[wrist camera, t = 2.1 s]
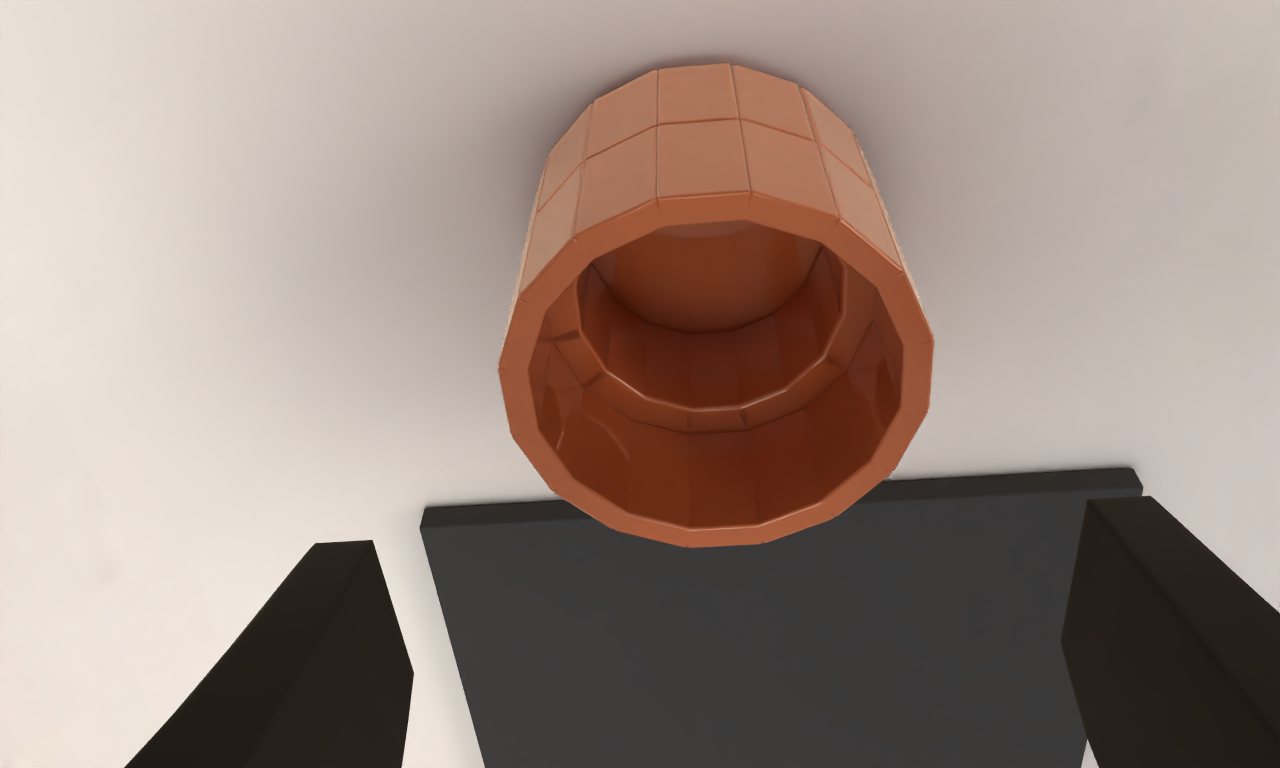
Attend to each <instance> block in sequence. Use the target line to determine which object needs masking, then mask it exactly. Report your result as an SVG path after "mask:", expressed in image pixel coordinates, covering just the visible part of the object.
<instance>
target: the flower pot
mask: <svg viewBox="0 0 1280 768" xmlns="http://www.w3.org/2000/svg"><path fill="white" fill-rule="evenodd" d="M933 355H934V339H933V333H932V330H931V327H930V325H929V322H928V319H927V317H926V314H925V311H924V309H923V306H922V303H921V301H920V298H919V295H918V293H917V290H916V287H915V285H914V282H913V279H912V277H911V274H910V271H909V269H908V266H907V263H906V261H905V258H904V255H903V253H902V251H901V248H900V245H899V242H898V240H897V237H896V234H895V232H894V229H893V226H892V224H891V221H890V218H889V216H888V213H887V210H886V208H885V205H884V202H883V200H882V197H881V194H880V192H879V189H878V186H877V184H876V182H875V179H874V177H873V175H872V172H871V170H870V168H869V166H868V163H867V161H866V159H865V156H864V154H863V152H862V149H861V147H860V145H859V142H858V140H857V138H856V136H855V135H854V134H853V133H852V132H851V129H850V127H849V126H848V125H846V124H845V123H844V122H843V121H842V120H841V119H840V118H838V117H837V116H836V115H835V114H834V113H833V112H832V111H830V110H829V109H828V108H827V107H826V106H825V105H824V104H823V103H821V102H820V101H819V100H818V99H817V98H816V97H815V96H813V95H812V94H811V93H810V92H809V91H808V90H807V89H805V88H802V87H801V88H800V87H799V86H798V85H797V84H796V83H793V82H790V81H787V80H784V79H780V78H777V77H774V76H771V75H768V74H765V73H762V72H758V71H755V70H752V69H749V68H746V67H743V66H740V65H733V66H731V64H729V63H720V64H708V65H696V66H684V67H672V68H661V69H659V70H658V71H657V70H653V71H651V72H649V73H647V74H645V75H643V76H641V77H639V78H637V79H635V80H633V81H631V82H629V83H627V84H625V85H623V86H621V87H619V88H617V89H615V90H613V91H611V92H609V93H607V94H605V95H603V96H602V97H600V98H598V99H596V100H594V102H593V103H592V104H590V105H589V106H588V107H587V108H586V109H585V110H584V112H583V113H582V114H581V115H580V116H579V117H578V119H577V120H576V121H575V122H574V123H573V125H572V126H571V127H570V128H569V129H568V131H567V132H566V133H565V134H564V135H563V136H562V138H561V139H560V140H559V141H558V142H557V144H556V145H555V146H554V147H553V148H552V150H551V151H550V154H549V156H548V157H547V159H546V162H545V165H544V169H543V173H542V176H541V180H540V183H539V187H538V190H537V194H536V197H535V201H534V204H533V208H532V212H531V216H530V221H529V225H528V230H527V234H526V239H525V243H524V248H523V253H522V257H521V262H520V266H519V271H518V275H517V280H516V284H515V289H514V293H513V298H512V302H511V307H510V311H509V316H508V321H507V325H506V330H505V334H504V339H503V343H502V348H501V353H500V357H499V362H498V366H499V367H498V374H499V379H500V384H501V389H502V394H503V399H504V404H505V409H506V414H507V419H508V424H509V429H510V433H511V435H512V437H513V439H514V441H515V442H516V443H517V445H518V446H519V447H520V449H521V450H522V451H523V453H524V454H525V455H526V457H527V458H528V459H529V461H530V462H531V464H532V465H533V466H534V468H535V469H536V470H537V472H538V473H539V474H540V476H541V477H542V478H543V480H544V481H545V482H546V484H547V485H548V487H549V488H550V489H551V490H552V491H554V493H555V494H557V495H558V496H560V497H561V498H563V499H565V500H566V501H568V502H569V503H571V504H573V505H574V506H576V507H577V508H579V509H581V510H582V511H584V512H585V513H587V514H589V515H590V516H592V517H593V518H595V519H597V520H598V521H600V522H601V523H603V524H605V525H606V526H608V527H609V528H611V529H615V530H616V531H618V532H622V533H627V534H631V535H635V536H639V537H643V538H647V539H651V540H655V541H660V542H664V543H668V544H672V545H676V546H680V547H687V546H688V548H699V547H718V546H736V545H755V544H762V543H763V542H764V543H768V542H770V541H773V540H776V539H779V538H782V537H784V536H787V535H790V534H793V533H795V532H798V531H801V530H804V529H806V528H809V527H812V526H815V525H817V524H820V523H823V522H826V521H829V520H831V519H833V518H834V517H837V516H838V515H840V514H841V513H842V512H843V511H845V510H846V509H847V508H849V507H850V506H851V505H852V504H854V503H855V502H856V501H857V500H859V499H860V498H861V497H862V496H864V495H865V494H866V493H868V492H869V491H870V490H871V489H873V488H874V487H875V486H876V485H878V484H879V483H880V482H881V481H883V480H884V479H885V478H887V477H888V476H889V475H890V474H891V473H892V471H894V470H895V468H896V467H897V465H898V463H899V461H900V460H901V458H902V456H903V454H904V453H905V451H906V449H907V448H908V446H909V444H910V442H911V441H912V439H913V437H914V435H915V434H916V432H917V430H918V428H919V427H920V425H921V423H922V422H923V420H924V418H925V416H926V415H927V413H928V409H929V407H930V395H931V382H932V368H933Z"/></svg>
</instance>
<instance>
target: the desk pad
mask: <svg viewBox="0 0 1280 768" xmlns="http://www.w3.org/2000/svg"><path fill="white" fill-rule="evenodd" d="M1142 492H1143V485H1142V484H1141V482H1140V480H1139V478H1138V476H1137V475H1136V473H1135V471H1134V469H1132V468H1127V469H1109V470H1092V471H1074V472H1057V473H1040V474H1022V475H1005V476H987V477H970V478H953V479H935V480H918V481H900V482H883V483H879V484H878V485H876V486H875V487H874V488H873V489H871V490H870V491H869V492H868V493H866V494H865V495H864V496H862V497H861V498H860V499H859V500H857V501H856V502H855V503H854V504H852V505H851V506H850V507H849V508H847V509H846V510H845V511H843V512H842V513H841V514H840V515H838V516H837V517H834V518H833V519H831V520H829V521H826V522H823V523H820V524H817V525H815V526H812V527H809V528H806V529H804V530H801V531H798V532H795V533H793V534H790V535H787V536H784V537H782V538H779V539H776V540H773V541H770V542H768V543H764V542H763V543H762V544H755V545H736V546H718V547H699V548H688V546H687V547H680V546H676V545H672V544H668V543H664V542H660V541H655V540H651V539H647V538H643V537H639V536H635V535H631V534H627V533H622V532H618V531H616V530H615V529H611V528H609V527H608V526H606V525H605V524H603V523H601V522H600V521H598V520H597V519H595V518H593V517H592V516H590V515H589V514H587V513H585V512H584V511H582V510H581V509H579V508H577V507H576V506H574V505H573V504H571V503H569V502H568V501H553V502H535V503H518V504H500V505H483V506H466V507H448V508H431V509H425V510H424V513H423V517H422V521H421V525H420V532H421V535H422V539H423V543H424V546H425V550H426V554H427V557H428V561H429V565H430V568H431V572H432V575H433V579H434V583H435V586H436V590H437V594H438V597H439V601H440V605H441V608H442V612H443V616H444V619H445V623H446V627H447V630H448V634H449V637H450V641H451V645H452V648H453V652H454V656H455V659H456V663H457V667H458V670H459V674H460V678H461V681H462V685H463V689H464V692H465V696H466V700H467V703H468V707H469V710H470V714H471V718H472V721H473V725H474V729H475V732H476V736H477V740H478V743H479V747H480V751H481V754H482V758H483V762H484V765H485V768H1081V765H1082V760H1083V756H1084V751H1085V747H1086V742H1087V736H1086V733H1085V729H1084V726H1083V722H1082V719H1081V715H1080V712H1079V708H1078V705H1077V702H1076V698H1075V695H1074V691H1073V687H1072V683H1071V680H1070V676H1069V672H1068V668H1067V664H1066V661H1065V657H1064V653H1063V649H1062V646H1061V642H1060V641H1061V636H1062V630H1063V625H1064V620H1065V614H1066V609H1067V604H1068V599H1069V593H1070V588H1071V583H1072V577H1073V572H1074V567H1075V561H1076V556H1077V551H1078V545H1079V540H1080V535H1081V529H1082V524H1083V519H1084V513H1085V508H1086V503H1087V499H1103V498H1121V497H1138V496H1142Z"/></svg>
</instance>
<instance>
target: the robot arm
mask: <svg viewBox="0 0 1280 768" xmlns="http://www.w3.org/2000/svg"><path fill="white" fill-rule="evenodd" d="M1060 642H1061V646H1062V649H1063V653H1064V657H1065V661H1066V664H1067V668H1068V672H1069V676H1070V680H1071V683H1072V687H1073V691H1074V695H1075V698H1076V702H1077V705H1078V708H1079V712H1080V715H1081V719H1082V722H1083V726H1084V729H1085V733H1086V736H1087V739H1088V741H1089V744H1090V746H1091V749H1092V751H1093V754H1094V756H1095V759H1096V761H1097V764H1098V766H1099V768H1280V613H1279V612H1278V611H1277V610H1276V609H1274V608H1273V607H1272V606H1271V605H1270V604H1269V603H1268V602H1267V601H1265V600H1264V599H1263V598H1262V597H1261V596H1260V595H1259V594H1258V593H1257V592H1255V591H1254V590H1253V589H1252V588H1251V587H1250V586H1249V585H1248V584H1247V583H1246V582H1244V581H1243V580H1242V579H1241V578H1240V577H1239V576H1238V575H1237V574H1236V573H1235V572H1233V571H1232V570H1231V569H1230V568H1229V567H1228V566H1227V565H1226V564H1225V563H1224V562H1222V561H1221V560H1220V559H1219V558H1218V557H1217V556H1216V555H1215V554H1214V553H1213V552H1212V551H1210V550H1209V549H1208V548H1207V547H1206V546H1205V545H1204V544H1203V543H1202V542H1201V541H1200V540H1199V539H1197V538H1196V537H1195V536H1194V535H1193V534H1192V533H1191V532H1190V531H1189V530H1188V529H1187V528H1185V527H1184V526H1183V525H1182V524H1181V523H1180V522H1179V521H1178V520H1177V519H1176V518H1175V517H1173V516H1172V515H1171V514H1170V513H1169V512H1168V511H1167V510H1166V509H1165V508H1164V507H1162V506H1161V505H1160V504H1159V503H1158V502H1157V501H1156V500H1155V499H1154V498H1152V497H1151V496H1138V497H1121V498H1103V499H1087V503H1086V508H1085V513H1084V519H1083V524H1082V529H1081V535H1080V540H1079V545H1078V551H1077V556H1076V561H1075V567H1074V572H1073V577H1072V583H1071V588H1070V593H1069V599H1068V604H1067V609H1066V614H1065V620H1064V625H1063V630H1062V636H1061V641H1060ZM413 676H414V672H413V669H412V665H411V662H410V659H409V656H408V653H407V649H406V646H405V643H404V640H403V636H402V633H401V630H400V627H399V624H398V620H397V617H396V614H395V611H394V608H393V604H392V601H391V598H390V595H389V591H388V588H387V585H386V582H385V579H384V575H383V572H382V569H381V566H380V562H379V559H378V556H377V553H376V550H375V546H374V543H373V540H365V541H347V542H330V543H315V544H314V545H313V546H312V547H311V548H310V550H309V551H308V552H307V553H306V554H305V555H304V557H303V558H302V559H301V560H300V561H299V563H298V564H297V565H296V566H295V567H294V569H293V570H292V571H291V572H290V574H289V575H288V576H287V577H286V578H285V580H284V581H283V582H282V583H281V585H280V586H279V587H278V588H277V590H276V591H275V592H274V593H273V595H272V596H271V597H270V598H269V600H268V601H267V602H266V603H265V605H264V606H263V607H262V608H261V610H260V611H259V612H258V613H257V615H256V616H255V617H254V618H253V620H252V621H251V622H250V623H249V624H248V626H247V627H246V628H245V629H244V631H243V632H242V633H241V634H240V635H239V637H238V638H237V639H236V640H235V642H234V643H233V644H232V645H231V647H230V648H229V649H228V650H227V651H226V653H225V654H224V655H223V656H222V657H221V659H220V660H219V661H218V662H217V663H216V664H215V666H214V667H213V668H212V669H211V670H210V672H209V673H208V674H207V675H206V676H205V677H204V679H203V680H202V681H201V682H200V683H199V684H198V686H197V687H196V688H195V689H194V690H193V692H192V693H191V694H190V695H189V696H188V697H187V699H186V700H185V701H184V702H183V703H182V705H181V706H180V707H179V708H178V709H177V710H176V711H175V713H174V714H173V715H172V716H171V717H170V718H169V719H168V721H167V722H166V723H165V724H164V725H163V726H162V727H161V728H160V729H159V731H158V732H157V733H156V734H155V735H154V736H153V737H152V738H151V739H150V740H149V741H148V742H147V744H146V745H145V746H144V747H143V748H142V749H141V750H140V751H139V752H138V753H137V754H136V755H135V757H134V758H133V759H132V760H131V761H130V762H129V763H128V764H127V765H126V766H125V767H124V768H401V767H402V761H403V754H404V747H405V740H406V733H407V726H408V718H409V710H410V701H411V693H412V685H413Z"/></svg>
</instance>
